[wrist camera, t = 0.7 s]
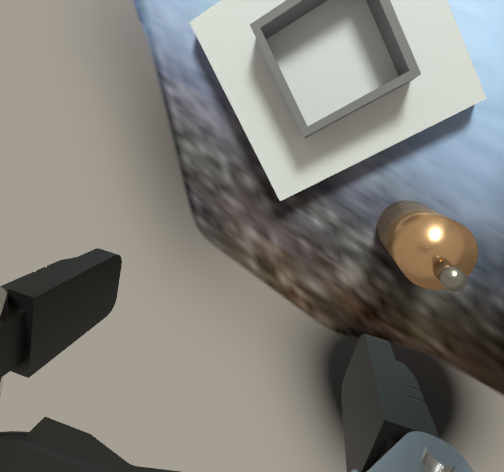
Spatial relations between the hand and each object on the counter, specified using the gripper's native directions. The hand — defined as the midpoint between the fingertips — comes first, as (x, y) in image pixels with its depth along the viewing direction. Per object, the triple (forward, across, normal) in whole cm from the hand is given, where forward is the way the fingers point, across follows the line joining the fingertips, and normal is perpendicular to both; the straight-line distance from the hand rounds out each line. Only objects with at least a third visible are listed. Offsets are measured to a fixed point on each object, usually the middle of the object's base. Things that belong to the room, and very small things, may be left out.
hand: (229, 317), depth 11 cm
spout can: (+24, -11, -1) cm, 26 cm away
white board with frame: (+24, 0, -12) cm, 27 cm away
